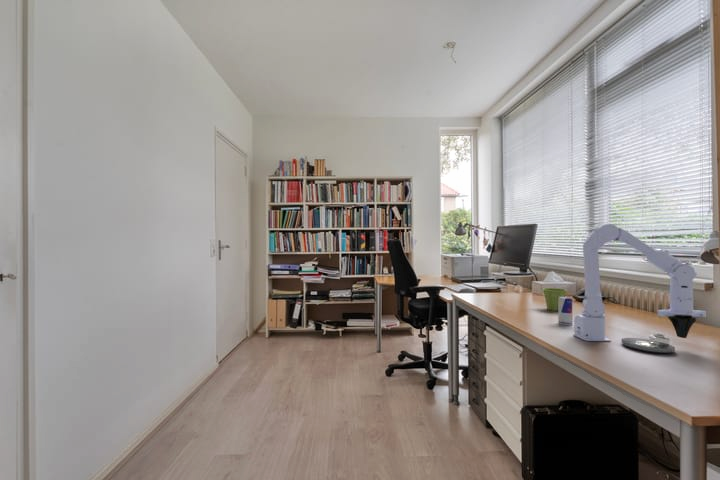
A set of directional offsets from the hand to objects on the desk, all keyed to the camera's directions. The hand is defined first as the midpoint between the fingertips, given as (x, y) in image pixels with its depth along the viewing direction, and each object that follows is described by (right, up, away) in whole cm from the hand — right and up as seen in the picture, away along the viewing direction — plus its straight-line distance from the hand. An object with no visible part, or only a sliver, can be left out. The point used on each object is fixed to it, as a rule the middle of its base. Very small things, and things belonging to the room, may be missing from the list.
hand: (681, 337), depth 113 cm
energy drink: (-19, -4, +34) cm, 39 cm away
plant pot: (-6, -5, +64) cm, 65 cm away
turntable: (-12, -4, +1) cm, 12 cm away
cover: (-8, -3, 0) cm, 8 cm away
